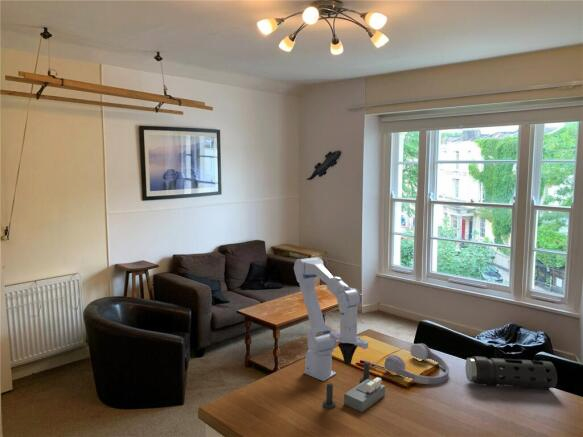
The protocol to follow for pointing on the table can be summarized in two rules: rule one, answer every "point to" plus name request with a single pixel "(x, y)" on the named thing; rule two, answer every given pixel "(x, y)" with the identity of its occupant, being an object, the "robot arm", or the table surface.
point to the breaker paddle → (370, 386)
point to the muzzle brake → (511, 372)
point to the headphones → (421, 352)
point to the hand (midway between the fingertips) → (347, 363)
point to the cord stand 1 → (329, 397)
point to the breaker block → (364, 395)
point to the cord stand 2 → (366, 372)
